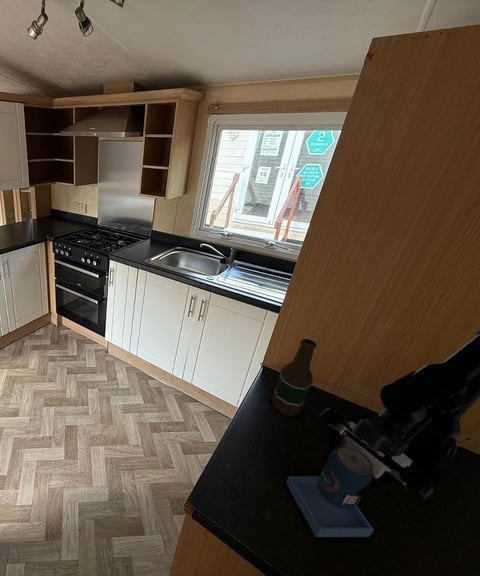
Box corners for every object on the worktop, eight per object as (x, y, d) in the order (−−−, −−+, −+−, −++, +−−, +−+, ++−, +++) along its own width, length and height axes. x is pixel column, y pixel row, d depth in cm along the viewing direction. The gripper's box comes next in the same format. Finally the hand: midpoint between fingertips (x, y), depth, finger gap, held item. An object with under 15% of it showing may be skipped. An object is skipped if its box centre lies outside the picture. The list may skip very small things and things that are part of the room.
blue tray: (332, 483, 73) (336, 476, 72) (369, 537, 64) (374, 530, 62) (285, 483, 73) (288, 476, 72) (315, 537, 64) (319, 530, 62)
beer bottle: (265, 397, 97) (286, 334, 87) (288, 395, 98) (312, 332, 87) (281, 418, 90) (306, 351, 80) (306, 415, 91) (334, 349, 80)
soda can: (309, 477, 71) (326, 441, 65) (343, 482, 70) (363, 446, 64) (324, 510, 64) (345, 473, 59) (361, 515, 63) (385, 479, 58)
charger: (349, 422, 89) (405, 472, 76) (322, 427, 87) (374, 479, 74) (355, 410, 87) (414, 459, 74) (327, 415, 85) (382, 466, 72)
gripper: (339, 379, 66) (287, 431, 67) (457, 455, 50) (386, 521, 52) (351, 396, 72) (302, 444, 73) (459, 469, 56) (395, 528, 58)
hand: (340, 478), depth 64 cm, fingers closed on soda can, 7 cm apart
